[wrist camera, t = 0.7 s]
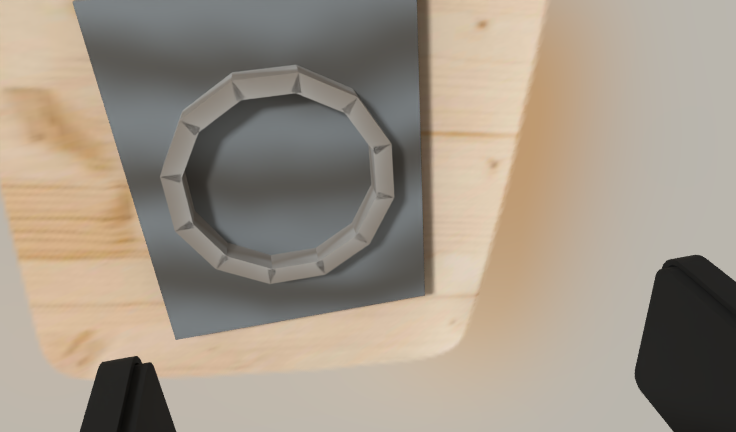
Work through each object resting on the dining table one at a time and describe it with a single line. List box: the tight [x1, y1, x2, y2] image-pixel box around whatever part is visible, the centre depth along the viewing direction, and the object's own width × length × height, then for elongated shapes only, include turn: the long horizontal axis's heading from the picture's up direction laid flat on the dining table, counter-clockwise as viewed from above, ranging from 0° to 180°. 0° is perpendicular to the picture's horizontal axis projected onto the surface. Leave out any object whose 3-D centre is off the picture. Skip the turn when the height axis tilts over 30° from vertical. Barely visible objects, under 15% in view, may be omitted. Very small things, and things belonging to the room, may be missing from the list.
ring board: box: [73, 0, 425, 340], centre depth 32 cm, size 20×16×3 cm
